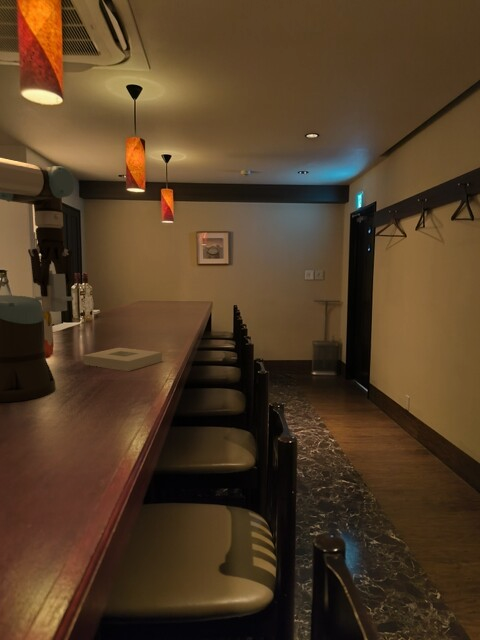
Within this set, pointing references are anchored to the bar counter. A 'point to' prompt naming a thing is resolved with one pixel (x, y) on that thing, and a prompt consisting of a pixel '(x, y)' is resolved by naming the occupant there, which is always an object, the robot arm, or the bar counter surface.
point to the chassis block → (123, 359)
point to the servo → (57, 293)
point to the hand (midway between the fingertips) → (54, 306)
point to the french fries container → (48, 333)
